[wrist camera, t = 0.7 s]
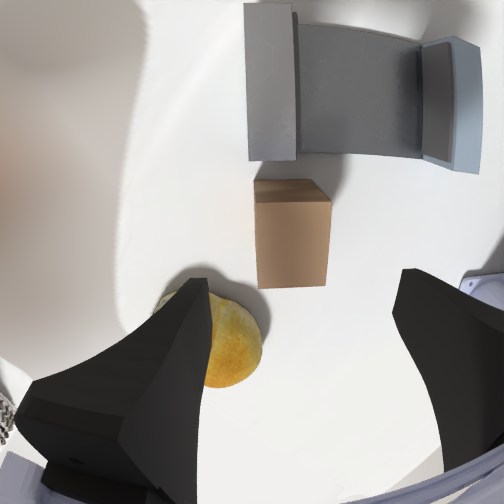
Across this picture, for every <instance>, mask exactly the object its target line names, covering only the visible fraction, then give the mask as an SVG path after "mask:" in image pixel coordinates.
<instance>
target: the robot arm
mask: <svg viewBox="0 0 504 504" xmlns="http://www.w3.org/2000/svg"><path fill="white" fill-rule="evenodd" d="M392 315H393V318H394V320H395V323H396V326H397V329H398V331H399V334H400V336H401V338H402V340H403V342H404V343H405V345H406V347H407V349H408V351H409V353H410V355H411V357H412V359H413V360H414V362H415V364H416V366H417V368H418V370H419V372H420V374H421V376H422V378H423V380H424V383H425V385H426V387H427V390H428V393H429V396H430V399H431V402H432V405H433V409H434V413H435V417H436V420H437V424H438V429H439V434H440V440H441V445H442V453H443V462H444V473H443V474H441V475H438V476H436V477H433V478H431V479H428V480H425V481H422V482H420V483H417V484H414V485H411V486H408V487H405V488H402V489H399V490H395V491H392V492H388V493H385V494H381V495H378V496H374V497H370V498H366V499H361V500H357V501H352V502H347V503H342V504H430V503H432V502H434V501H437V500H439V499H442V498H444V497H446V496H448V495H450V494H452V493H455V492H456V491H459V490H461V489H463V488H465V487H467V486H469V485H471V484H473V483H475V482H476V481H478V480H480V479H482V478H483V479H482V480H480V481H479V482H477V483H475V484H474V485H472V486H471V487H470V488H469V489H467V490H466V491H465V492H464V493H463V494H461V495H460V496H459V497H457V498H456V499H454V500H453V501H451V502H450V503H448V504H504V273H500V274H492V275H484V276H475V277H467V278H465V279H463V281H462V283H461V286H460V289H457V288H455V287H453V286H451V285H449V284H448V283H446V282H444V281H442V280H440V279H438V278H436V277H434V276H432V275H430V274H428V273H426V272H424V271H422V270H419V269H416V268H413V269H403V270H402V274H401V279H400V283H399V287H398V292H397V296H396V300H395V304H394V308H393V311H392ZM212 331H213V321H212V314H211V306H210V298H209V290H208V282H207V278H190V279H189V280H188V281H187V282H186V283H185V284H184V285H183V286H182V287H181V288H180V289H179V290H178V291H177V292H176V293H175V294H174V295H173V296H172V297H171V298H170V299H169V300H168V301H167V302H166V303H165V304H164V305H163V306H162V307H161V308H160V309H159V310H158V311H157V312H156V313H154V314H153V315H152V316H151V317H150V318H149V319H148V320H147V321H146V322H144V323H143V324H142V325H141V326H140V327H138V328H137V329H136V330H134V331H133V332H132V333H130V334H129V335H128V336H126V337H125V338H124V339H122V340H121V341H119V342H118V343H116V344H114V345H113V346H111V347H109V348H108V349H106V350H104V351H103V352H101V353H99V354H98V355H96V356H94V357H92V358H90V359H88V360H86V361H84V362H82V363H80V364H78V365H76V366H73V367H71V368H69V369H67V370H64V371H62V372H59V373H56V374H53V375H51V376H47V377H45V378H42V379H39V380H36V381H33V382H32V384H31V385H30V387H29V389H28V391H27V392H26V394H25V396H24V398H23V400H22V401H21V403H20V405H19V407H18V409H17V411H16V413H15V415H14V422H15V425H16V427H17V429H18V431H19V432H20V433H21V434H22V435H23V437H24V438H25V439H26V440H27V441H28V442H29V443H30V444H31V445H32V446H33V447H34V448H35V449H36V450H37V451H38V452H39V453H40V454H41V455H42V456H43V457H45V458H46V459H47V460H48V462H47V465H46V468H45V469H44V468H43V467H41V466H39V465H38V464H36V463H34V462H32V461H30V460H27V459H25V458H23V457H21V456H19V455H17V454H15V453H13V452H11V451H8V452H7V454H6V456H5V458H4V461H3V463H2V466H1V468H0V504H197V447H198V428H199V414H200V405H201V398H202V393H203V388H204V383H205V378H206V373H207V368H208V363H209V358H210V352H211V346H212Z"/></svg>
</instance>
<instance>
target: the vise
mask: <svg viewBox="0 0 504 504" xmlns="http://www.w3.org/2000/svg"><path fill="white" fill-rule="evenodd" d="M244 32H245V62H246V93H247V123H248V153H249V161H296V152H323V153H350V154H367V155H382V156H394V157H405V158H414V159H423V154H421V151H422V132H423V75H422V56H421V48H423V45H420V44H416V43H412V42H409V41H405V40H401V39H396V38H392V37H388V36H383V35H378V34H373V33H368V32H362V31H356V30H349V29H342V28H334V27H325V26H315V25H301V24H298V20H297V12H292V8H291V3H244Z"/></svg>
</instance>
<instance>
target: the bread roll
mask: <svg viewBox="0 0 504 504" xmlns="http://www.w3.org/2000/svg"><path fill="white" fill-rule="evenodd" d="M176 292H177V291H175V292H172V293H170V294H169V295H166V296H164V297H163V298H162V299H161V301H160V302H159V304H158V306H157V307H156V309H155V311H154V313H156V312H157V311H158V310H159V309H160V308H161V307H162V306H163V305H164V304H165V303H166V302H167V301H168V300H169V299H170V298H171V297H172V296H173V295H174V294H175V293H176ZM209 298H210V306H211V314H212V321H213V331H212V346H211V352H210V358H209V363H208V368H207V373H206V378H205V383H204V385H205V386H207V387H212V388H225V387H229V386H232V385H234V384H237V383H239V382H241V381H243V380H244V379H246V378H247V377H249V376H250V375H251V374H252V373H253V372H254V371H255V369H256V368H257V366H258V365H259V363H260V360H261V356H262V338H261V332H260V329H259V327H258V325H257V323H256V321H255V319H254V318H253V316H252V315H251V314H250V313H249V312H248V311H247V310H246V309H245V308H243V307H242V306H241V305H239V304H238V303H236V302H234V301H232V300H228V299H222V298H220V297H218V296H216V295H215V294H213V293H211V292H209Z"/></svg>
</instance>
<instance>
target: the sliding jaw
mask: <svg viewBox="0 0 504 504" xmlns="http://www.w3.org/2000/svg"><path fill="white" fill-rule="evenodd" d="M421 56H422V75H423V132H422V151H421V154H423V160H425V161H428V162H431V163H433V164H436V165H439V166H442V167H444V168H447V169H450V170H452V171H458V172H465V173H472V174H478V175H479V169H480V159H481V147H482V129H483V83H482V66H481V55H480V47H478V46H475V45H473V44H471V43H469V42H466V41H464V40H461V39H459V38H456V37H454V36H452V37H448V38H444V39H440V40H437V41H433V42H429V43H426V44H423V48H421Z"/></svg>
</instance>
